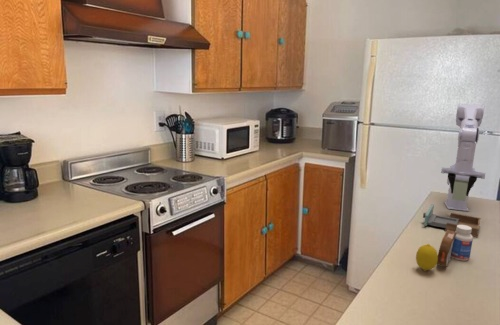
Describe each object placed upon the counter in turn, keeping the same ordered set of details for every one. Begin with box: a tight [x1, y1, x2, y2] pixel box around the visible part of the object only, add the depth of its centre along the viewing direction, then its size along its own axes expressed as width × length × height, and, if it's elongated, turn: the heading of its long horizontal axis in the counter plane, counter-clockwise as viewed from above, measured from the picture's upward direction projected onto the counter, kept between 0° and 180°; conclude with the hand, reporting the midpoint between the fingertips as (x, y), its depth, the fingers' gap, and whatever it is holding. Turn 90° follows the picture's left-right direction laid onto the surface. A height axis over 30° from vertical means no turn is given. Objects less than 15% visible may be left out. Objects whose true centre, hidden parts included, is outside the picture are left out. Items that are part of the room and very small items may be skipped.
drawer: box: [422, 204, 459, 229], centre depth 146 cm, size 15×11×4 cm
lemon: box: [415, 243, 438, 272], centre depth 110 cm, size 6×6×8 cm
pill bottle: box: [451, 225, 474, 262], centre depth 119 cm, size 6×5×10 cm
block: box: [452, 179, 469, 201], centre depth 150 cm, size 4×4×7 cm
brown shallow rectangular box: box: [444, 212, 482, 239], centre depth 142 cm, size 13×10×3 cm
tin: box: [436, 230, 456, 268], centre depth 116 cm, size 15×3×8 cm, turn 145°
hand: (459, 193), depth 150 cm, fingers closed on block, 4 cm apart
